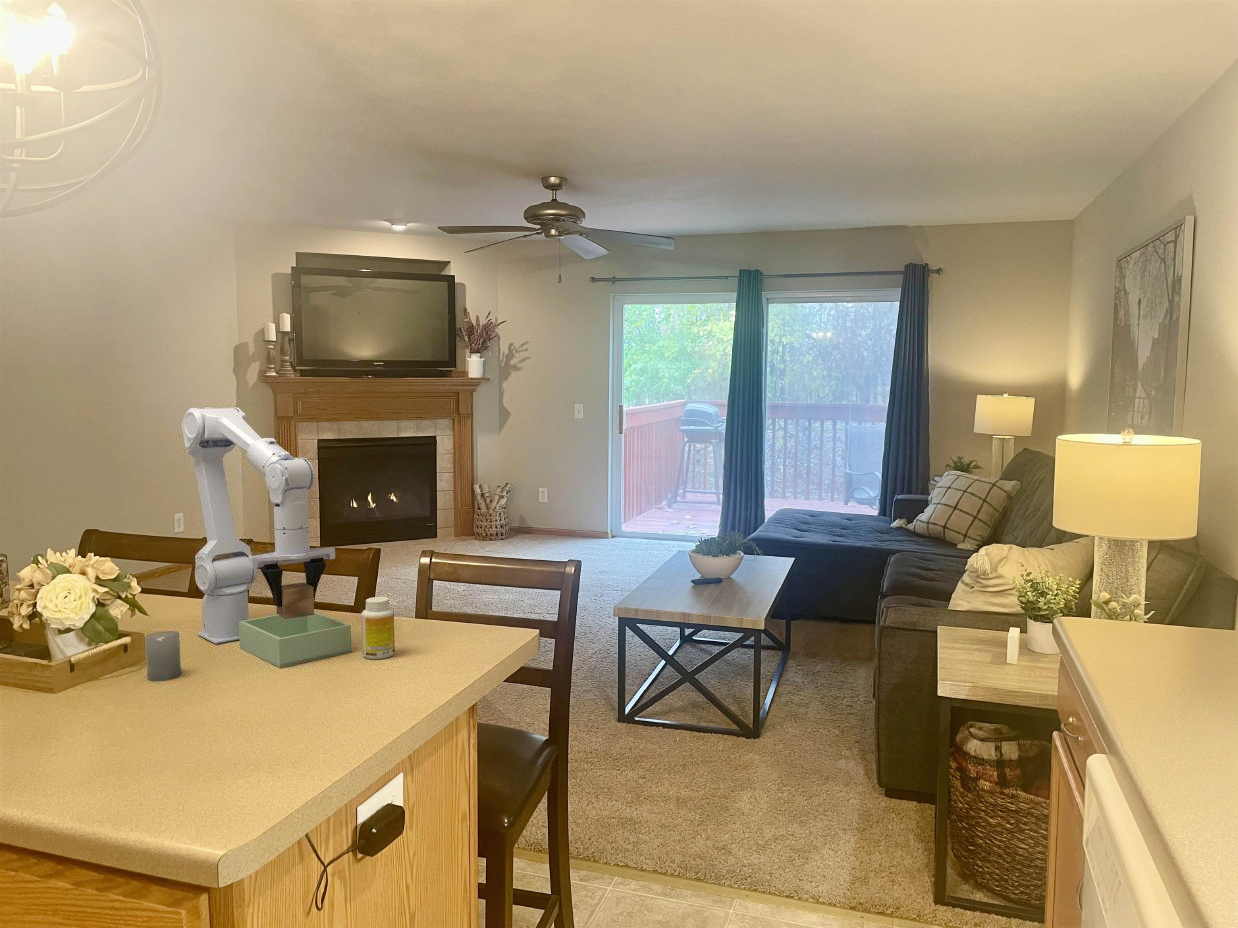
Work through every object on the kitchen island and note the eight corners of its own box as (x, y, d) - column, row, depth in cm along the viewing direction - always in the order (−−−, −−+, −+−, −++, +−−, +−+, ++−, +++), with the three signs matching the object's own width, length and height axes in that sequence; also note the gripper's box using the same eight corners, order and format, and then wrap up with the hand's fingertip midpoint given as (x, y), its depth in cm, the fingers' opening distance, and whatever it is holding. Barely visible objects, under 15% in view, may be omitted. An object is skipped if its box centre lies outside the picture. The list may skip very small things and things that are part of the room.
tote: (240, 648, 164) (238, 621, 164) (308, 634, 173) (307, 608, 173) (280, 668, 152) (278, 639, 151) (351, 652, 161) (350, 624, 160)
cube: (285, 619, 155) (284, 590, 154) (276, 613, 159) (275, 585, 158) (314, 614, 158) (313, 586, 157) (305, 609, 162) (304, 582, 161)
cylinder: (143, 676, 148) (140, 634, 147) (175, 669, 151) (173, 629, 151) (152, 683, 144) (150, 640, 144) (185, 676, 148) (183, 634, 147)
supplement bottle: (400, 656, 158) (398, 599, 158) (370, 662, 155) (368, 604, 154) (386, 649, 163) (385, 594, 162) (357, 655, 159) (355, 598, 158)
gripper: (256, 534, 149) (259, 614, 151) (340, 525, 158) (343, 601, 160) (243, 529, 155) (246, 606, 156) (326, 521, 164) (328, 594, 165)
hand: (294, 603), depth 158 cm, fingers closed on cube, 5 cm apart
